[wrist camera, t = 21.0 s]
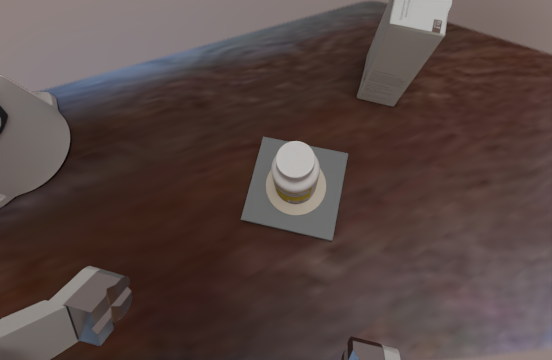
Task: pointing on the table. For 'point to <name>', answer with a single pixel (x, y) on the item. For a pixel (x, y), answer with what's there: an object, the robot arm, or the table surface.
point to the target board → (296, 217)
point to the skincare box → (402, 47)
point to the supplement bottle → (295, 172)
